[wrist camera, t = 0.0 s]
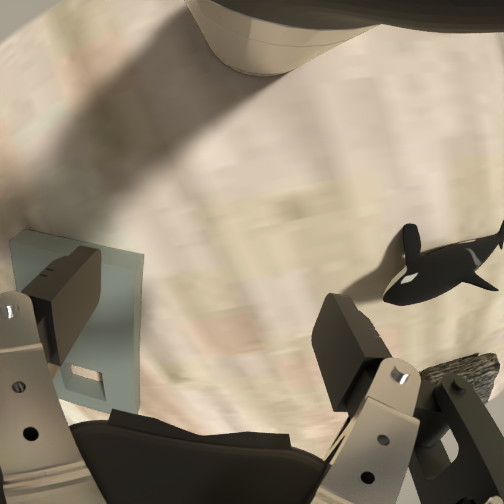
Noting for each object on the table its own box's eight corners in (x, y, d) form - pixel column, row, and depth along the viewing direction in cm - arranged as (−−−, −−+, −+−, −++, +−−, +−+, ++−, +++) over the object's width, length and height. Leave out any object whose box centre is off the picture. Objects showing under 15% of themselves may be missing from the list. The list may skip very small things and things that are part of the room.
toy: (365, 320, 32) (422, 378, 23) (359, 238, 28) (435, 289, 19) (483, 253, 35) (537, 284, 27) (488, 185, 31) (551, 209, 22)
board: (24, 228, 27) (9, 240, 24) (144, 254, 29) (135, 270, 26) (52, 378, 37) (45, 393, 35) (140, 403, 39) (136, 420, 37)
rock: (511, 364, 33) (492, 339, 38) (428, 399, 33) (412, 367, 39) (485, 410, 38) (471, 386, 43) (409, 441, 38) (397, 412, 44)
